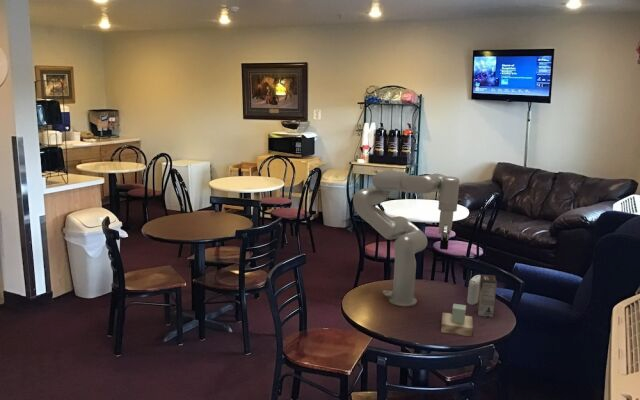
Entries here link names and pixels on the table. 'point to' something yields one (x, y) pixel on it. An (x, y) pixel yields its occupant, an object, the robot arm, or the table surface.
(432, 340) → the table surface
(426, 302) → the table surface
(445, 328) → the maple base
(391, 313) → the table surface
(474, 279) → the photo printer
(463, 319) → the sage block
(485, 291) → the coffee box
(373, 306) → the table surface
